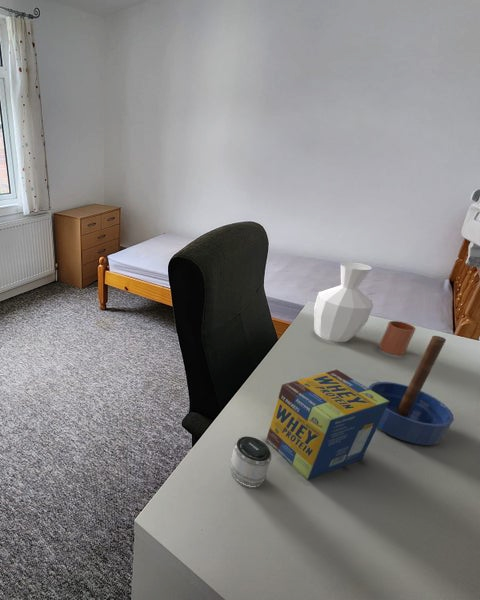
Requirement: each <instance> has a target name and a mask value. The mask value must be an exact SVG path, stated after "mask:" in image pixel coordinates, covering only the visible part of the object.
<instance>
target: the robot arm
mask: <svg viewBox="0 0 480 600" xmlns="http://www.w3.org/2000/svg"><path fill="white" fill-rule="evenodd" d="M469 199H470V202H472V203H471V204H470V206H469V208H468V210H467V213H466V215H465V218H464V220H463V224H462V227H461V230H460V231H461V238H463V239H466V240H467V241H468V242H469V244H468V251H467V255H468V256H467V258H466V260H465V262H464V263H465V265H467V266H469V267H471V268H472V267H473V268H479V267H480V187H479V188H476V189H474V190H473V191H472V193H471V196H470V198H469Z"/></svg>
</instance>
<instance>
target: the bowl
mask: <svg viewBox="0 0 480 600" xmlns="http://www.w3.org/2000/svg"><path fill="white" fill-rule="evenodd" d="M408 386H409V385H406V384H402V383H397V382H391V381H377V382H373V383H371V384H370V385H368V386H367V388H368V389H370V390H372V391H373V392H375V393H377V394H378V395H380V396H382V397H383V398H385V399H387V400H389V401H390V402H389V403H388V405H387V408H386V410H385V412H384V414H383V416H382V418H381V420H380V422H379V424H378V427H377V429H379V430H380V431H381V432H383V433H386V434H388V435H389V436H392V437H394V438H396V439H398V440H401V441H404V442H408V443H411V444H415V445H421V446H434V445H437V444H440V443H441V442H442V441H443V439H444V438H445V436H446V434H447V433H448V431H449V429H450V428H451V425H453V422H454V420H455V419H454V414H453V412H452V411H451V409H450V408H449V407H448V406H447V405H446V404H445V403H443V402H442V401H441V400H439V399H438V398H436V397H435V396H432V395H431V394H429V393H427V392H426V391H422V390H421V391H420V393H419V395H418V397H417V399H416V401H415V403H414V405H413V407H412V409H411V411H410V413H409V415H408V417H407V418H406V417H403V416H401V415H399V414H397V413H396V411H397V409H398V407H399V405H400V403H401V400H402V398H403V396H404V394H405V392H406V390H407V388H408Z"/></svg>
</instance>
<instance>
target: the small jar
mask: <svg viewBox="0 0 480 600" xmlns="http://www.w3.org/2000/svg"><path fill="white" fill-rule="evenodd" d="M271 461H272V451H271V450H270V448H269V447H268V445H267V444H266V443H264V442H263V441H262V440H260V439H258V438H256V437H253V436H240V437H239V438H237V439H236V441H235V442H234V445H233V451H232V455H231V459H230V475H231V476H232V477H233V479H234V481H235V482H237V483H238V484H239V485H241V486H243V487H245V488H248V489H255V488H256V489H257V488H258V487H260V486H261V485H262V484H263V483H264V481H265V479H266V477H267V473H268V470H269V466H270V463H271ZM232 474H233V475H234V476H235V478H236V479H238V480H239V481H240V482H242V483H244V484H246V485H250V486H256V487H249V486H246V485H243V484H241V483H240V482H239V481H237V480H236V479H235V478H234V476H233V475H232ZM258 485H259V486H258Z"/></svg>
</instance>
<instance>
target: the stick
mask: <svg viewBox="0 0 480 600" xmlns="http://www.w3.org/2000/svg"><path fill="white" fill-rule="evenodd" d="M446 341H447V339H446V338H445V337H443V336H440V335H432V336H431V338H430V341H429V343H428V345H427V347H426V349H425V351H424V353H423V355H422V357H421V359H420V361H419V362H418V365H417V368H416V369H415V372H414V373H413V375H412V377H411V380H410V382H409V384H408V385H407V386H408V388H407V390H406V392H405V394H404V396H403V398H402V400H401V403H400V405H399V407H398V409H397V411H396V413H397V414H399V415H401V416H403V417H406V418H407V417H408V415H409V413H410V411H411V409H412V407H413V405H414V403H415V401H416V399H417V397H418V395H419V393H420V391H422V389H423V387H424V385H425V384H426V381H427V379H428V377H429V375H430V373H431V370H432V369H433V367H434V365H435V363H436V361H437V360H438V357H439V356H440V353H441V351H442V349H443V348H444V346H445V343H446Z"/></svg>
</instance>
